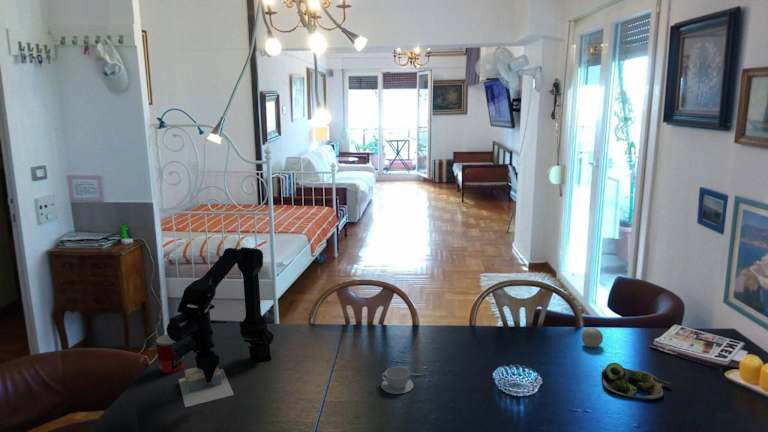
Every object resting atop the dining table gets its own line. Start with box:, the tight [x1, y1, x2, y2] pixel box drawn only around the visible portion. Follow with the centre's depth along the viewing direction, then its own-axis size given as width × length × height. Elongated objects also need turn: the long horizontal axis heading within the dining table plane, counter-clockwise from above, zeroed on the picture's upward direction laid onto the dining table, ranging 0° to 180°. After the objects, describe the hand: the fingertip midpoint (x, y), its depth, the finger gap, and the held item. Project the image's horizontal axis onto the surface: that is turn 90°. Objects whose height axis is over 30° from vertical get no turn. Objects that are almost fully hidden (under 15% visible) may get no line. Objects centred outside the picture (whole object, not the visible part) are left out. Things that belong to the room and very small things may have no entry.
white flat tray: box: [178, 368, 235, 408], centre depth 171 cm, size 14×18×1 cm
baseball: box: [581, 327, 604, 349], centre depth 191 cm, size 7×7×7 cm
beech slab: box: [184, 364, 222, 392], centre depth 173 cm, size 10×4×8 cm
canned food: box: [155, 333, 185, 375], centre depth 182 cm, size 8×8×11 cm
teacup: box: [380, 366, 414, 395], centre depth 169 cm, size 10×10×5 cm
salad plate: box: [600, 362, 672, 400], centre depth 166 cm, size 19×18×5 cm
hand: (206, 375), depth 165 cm, fingers open, 9 cm apart
